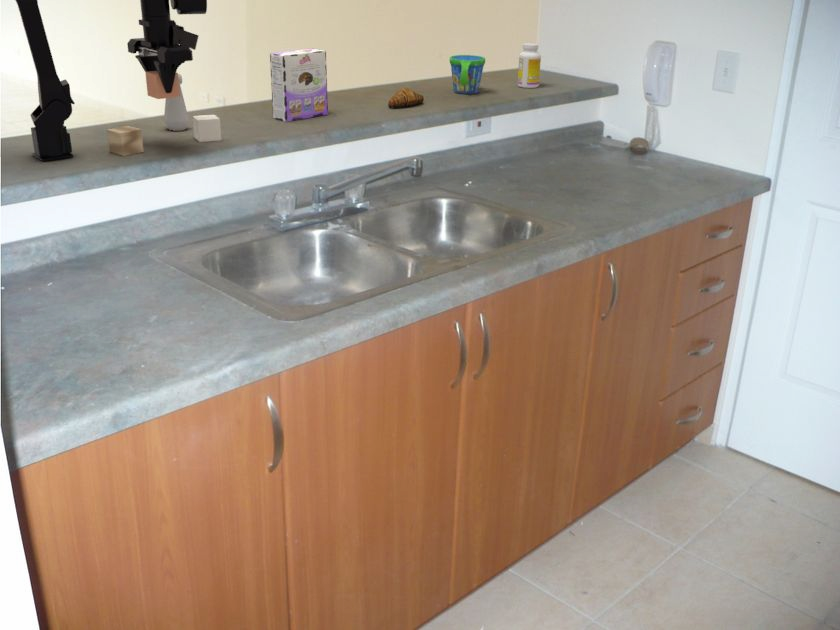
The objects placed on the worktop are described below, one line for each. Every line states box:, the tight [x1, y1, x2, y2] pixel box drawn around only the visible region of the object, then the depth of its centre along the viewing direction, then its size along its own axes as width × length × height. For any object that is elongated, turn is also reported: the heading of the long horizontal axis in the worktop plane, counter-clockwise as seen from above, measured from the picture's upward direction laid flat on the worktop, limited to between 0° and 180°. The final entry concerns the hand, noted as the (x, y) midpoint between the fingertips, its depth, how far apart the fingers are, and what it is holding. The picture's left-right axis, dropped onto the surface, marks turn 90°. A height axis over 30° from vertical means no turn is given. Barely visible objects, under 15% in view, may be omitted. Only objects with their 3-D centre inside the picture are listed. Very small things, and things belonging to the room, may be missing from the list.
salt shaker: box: [163, 73, 190, 132], centre depth 209 cm, size 6×6×13 cm
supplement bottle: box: [517, 42, 542, 89], centre depth 273 cm, size 7×7×13 cm
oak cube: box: [106, 125, 145, 157], centre depth 190 cm, size 5×5×5 cm
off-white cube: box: [192, 114, 222, 143], centre depth 202 cm, size 5×5×5 cm
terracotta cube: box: [144, 71, 180, 100], centre depth 190 cm, size 5×5×5 cm
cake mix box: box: [269, 47, 329, 123], centre depth 224 cm, size 14×6×16 cm, turn 134°
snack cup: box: [449, 54, 486, 95], centre depth 262 cm, size 16×10×10 cm
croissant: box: [387, 87, 425, 109], centre depth 243 cm, size 14×7×5 cm, turn 139°
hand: (163, 91), depth 190 cm, fingers closed on terracotta cube, 5 cm apart
